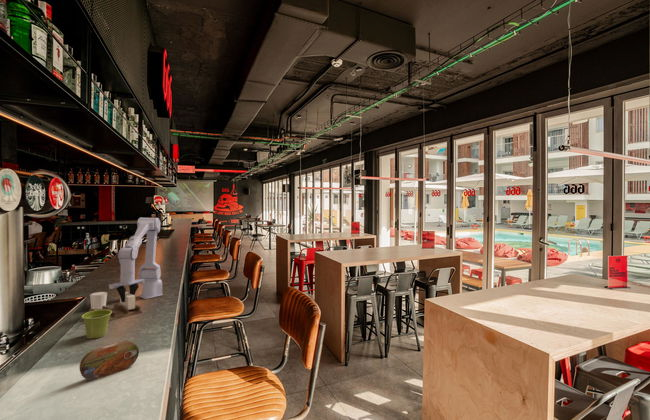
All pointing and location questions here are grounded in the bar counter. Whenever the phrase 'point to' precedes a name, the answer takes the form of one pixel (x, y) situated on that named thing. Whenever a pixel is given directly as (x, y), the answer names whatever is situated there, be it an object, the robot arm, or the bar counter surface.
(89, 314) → the plant pot
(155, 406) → the bar counter surface
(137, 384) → the bar counter surface
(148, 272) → the robot arm
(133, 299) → the cream rectangular block
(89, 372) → the tin
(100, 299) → the shot glass
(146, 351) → the bar counter surface
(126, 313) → the rack
